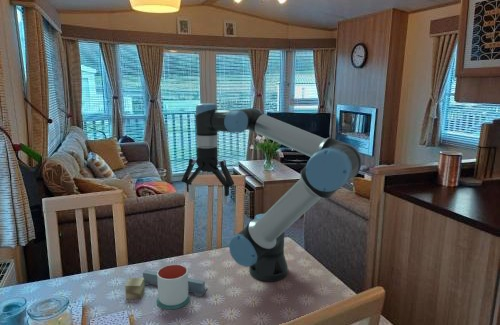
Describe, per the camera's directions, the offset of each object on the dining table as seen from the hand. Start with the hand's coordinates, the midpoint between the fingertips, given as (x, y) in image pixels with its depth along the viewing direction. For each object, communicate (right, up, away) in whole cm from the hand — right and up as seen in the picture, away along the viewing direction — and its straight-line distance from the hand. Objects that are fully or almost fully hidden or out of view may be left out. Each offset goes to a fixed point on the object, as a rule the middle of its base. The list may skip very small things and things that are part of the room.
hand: (207, 202), depth 130 cm
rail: (-12, -30, -5) cm, 33 cm away
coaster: (-10, -32, -12) cm, 35 cm away
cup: (-10, -31, -12) cm, 35 cm away
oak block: (-24, -31, -10) cm, 40 cm away
